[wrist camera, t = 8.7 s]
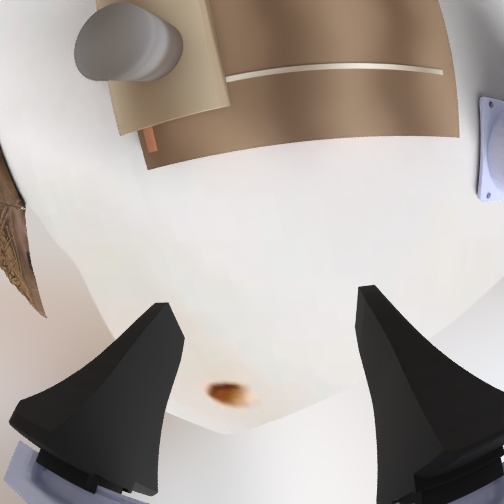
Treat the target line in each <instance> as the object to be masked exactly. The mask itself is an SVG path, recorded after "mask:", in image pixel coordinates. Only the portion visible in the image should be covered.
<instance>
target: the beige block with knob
mask: <svg viewBox="0 0 504 504" xmlns="http://www.w3.org/2000/svg"><path fill="white" fill-rule="evenodd" d="M96 2H97V12H96V13H95V14H93V15H92V16H91V17H90V18H89V19H88V21H87V22H86V23H85V24H84V26H83V27H82V29H81V31H80V33H79V35H78V37H77V40H76V44H75V50H74V57H75V63H76V66H77V68H78V70H79V71H80V72H81V74H82V75H83V76H85V77H86V78H88V79H91V80H95V81H108V85H109V90H110V95H111V100H112V104H113V109H114V113H115V118H116V122H117V126H118V130H119V134H120V136H121V135H124V134H127V133H131V132H134V131H137V130H141V129H144V128H147V127H150V126H154V125H157V124H160V123H163V122H167V121H170V120H174V119H177V118H181V117H185V116H189V115H193V114H197V113H201V112H205V111H209V110H214V109H218V108H223V107H228V106H231V102H230V97H229V92H228V88H227V83H226V78H225V73H224V68H223V63H222V58H221V54H220V49H219V44H218V39H217V35H216V30H215V25H214V20H213V16H212V11H211V6H210V2H209V0H96Z"/></svg>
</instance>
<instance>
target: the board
mask: <svg viewBox="0 0 504 504" xmlns="http://www.w3.org/2000/svg"><path fill="white" fill-rule="evenodd" d="M209 2H210V6H211V11H212V16H213V20H214V25H215V30H216V35H217V39H218V44H219V49H220V54H221V58H222V63H223V68H224V73H225V78H226V83H227V88H228V92H229V97H230V102H231V106H228V107H223V108H218V109H214V110H209V111H205V112H201V113H197V114H193V115H189V116H185V117H181V118H177V119H174V120H170V121H167V122H163V123H160V124H157V125H154V126H150V127H147V128H144V129H141V130H137V131H138V135H139V139H140V143H141V147H142V151H143V154H144V158H145V162H146V165H147V169H148V170H150V169H154V168H158V167H162V166H166V165H170V164H174V163H178V162H183V161H187V160H192V159H196V158H201V157H206V156H211V155H216V154H221V153H227V152H232V151H238V150H244V149H250V148H256V147H263V146H270V145H277V144H285V143H293V142H302V141H311V140H322V139H334V138H349V137H368V136H440V137H458V138H459V113H458V100H457V89H456V81H455V73H454V67H453V61H452V55H451V50H450V45H449V40H448V35H447V31H446V27H445V23H444V19H443V16H442V12H441V9H440V5H439V2H438V0H209Z"/></svg>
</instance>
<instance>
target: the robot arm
mask: <svg viewBox="0 0 504 504" xmlns="http://www.w3.org/2000/svg"><path fill="white" fill-rule="evenodd" d="M489 102H490V106H489ZM479 103H480V121H481V156H480V175H479V186H478V199H479V200H481V201H483V202H486V201H504V101H502V100H498V99H493V98H489V97H484V96H483V97H481V98H480V102H479ZM487 193H488V195H487ZM486 195H487V197H486ZM355 330H356V336H357V342H358V348H359V353H360V356H361V360H362V364H363V367H364V371H365V375H366V379H367V382H368V386H369V390H370V394H371V398H372V403H373V409H374V416H375V426H376V439H377V459H378V460H377V462H378V479H377V500H376V501H377V504H504V462H503V463H502V462H501V458H500V457H502V456H503V455H504V449H503V445H504V392H503V391H501V390H499V389H497V388H495V387H493V386H491V385H489V384H488V383H485V382H484V381H482V380H481V379H479V378H477V377H476V376H474V375H472V374H471V373H469V372H468V371H466V370H465V369H463V368H462V367H461V366H459V365H458V364H456V363H455V362H453V361H452V360H451V359H449V358H448V357H447V356H446V355H444V354H443V353H442V352H441V351H439V350H438V349H437V348H436V347H434V346H433V345H432V344H431V343H430V342H429V341H428V340H427V339H426V338H425V337H424V336H422V335H421V334H420V333H419V332H418V331H417V330H416V329H415V328H414V327H413V326H412V325H411V324H410V323H409V322H408V321H407V320H406V319H405V318H404V316H403V315H402V314H401V313H400V312H399V311H398V310H397V309H396V308H395V307H394V306H393V305H392V304H391V303H390V301H389V300H388V299H387V298H386V297H385V296H384V295H383V294H382V292H381V291H380V290H379V289H378V288H377V287H376V286H375V285H369V286H362V287H358V299H357V311H356V322H355ZM184 339H185V337H184V335H183V333H182V331H181V329H180V327H179V325H178V323H177V320H176V318H175V316H174V314H173V312H172V309H171V307H170V305H169V303H155V304H154V305H152V306H151V307H150V308H149V309H148V310H147V311H146V312H145V313H144V314H142V315H141V316H140V317H139V318H138V319H137V320H136V321H135V322H134V323H133V324H132V325H131V326H130V327H129V328H128V329H127V330H126V331H125V332H124V333H123V334H122V335H121V336H120V337H119V338H117V339H116V340H115V341H114V342H113V343H112V344H111V345H110V346H109V347H107V348H106V349H105V350H104V351H103V352H102V353H101V354H100V355H98V356H97V357H96V358H95V359H94V360H92V361H91V362H90V363H88V364H87V365H86V366H84V367H83V368H82V369H80V370H79V371H77V372H76V373H74V374H72V375H71V376H69V377H68V378H66V379H65V380H63V381H62V382H60V383H58V384H56V385H54V386H53V387H51V388H49V389H47V390H45V391H43V392H41V393H38V394H36V395H33V396H31V397H28V398H26V399H23V400H20V402H19V403H18V405H17V407H16V408H15V411H14V412H13V414H12V416H11V418H10V420H9V423H10V425H11V426H12V427H13V428H14V429H15V430H17V431H18V432H19V433H20V434H22V435H23V436H24V437H25V438H27V439H28V440H29V441H31V442H32V443H33V444H35V445H36V446H38V447H39V448H41V449H40V452H39V453H38V452H37V451H35V450H33V449H32V448H30V447H29V446H28V445H26V444H24V443H23V442H22V441H19V443H18V445H17V447H16V449H15V452H14V454H13V457H12V459H11V461H10V464H9V467H8V469H7V472H6V475H5V477H4V481H5V482H6V483H7V484H8V485H9V486H10V487H11V488H12V489H13V490H15V491H16V492H17V493H18V494H19V495H20V496H21V497H22V498H23V499H24V500H25V501H26V502H27V503H28V504H148V503H145V502H141V501H139V500H136V499H133V498H130V497H127V496H124V495H121V494H122V491H125V492H128V493H131V492H132V491H135V492H138V493H142V494H145V495H148V496H153V495H155V494H157V493H158V483H157V482H158V474H157V473H158V455H159V444H160V437H161V429H162V424H163V418H164V413H165V409H166V405H167V402H168V399H169V395H170V392H171V389H172V386H173V383H174V380H175V377H176V374H177V371H178V367H179V364H180V361H181V356H182V351H183V345H184Z"/></svg>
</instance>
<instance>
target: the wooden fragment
mask: <svg viewBox="0 0 504 504" xmlns="http://www.w3.org/2000/svg"><path fill="white" fill-rule="evenodd" d="M21 207H24V208H26V206H25V203H24V202H23V200H22V199H21V198H20V197H19V195H18V192H17V190H16V188H15V186H14V183H13V181H12V179H11V176H10V174H9V172H8V169H7V167H6V164H5V161H4V159H3V155H2V153H1V150H0V267H1V269H2V270H4V272H5V274H6V276H7V277H8V278H9V280H10V282H11V283H12V284H14V285H15V286H16V287H17V289H18V290H19V291H20V292H21V293H22V295H24V296H25V297H26V298H27V300H28V301H29V303H30V304H31V305H32V306H33V307H34V308H35V309H36V310H37V311H38V312H39V313H40V314H41V315H42V316H44V317H45V318H47V316H45V312H44V309H43V306H42V303H41V299H40V296H39V291H38V288H37V283H36V279H35V276H34V272H33V269H32V265H31V259H30V254H29V253H30V252H29V245H28V238H27V229H26V220H25V209H24V210H23V209H21Z"/></svg>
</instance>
